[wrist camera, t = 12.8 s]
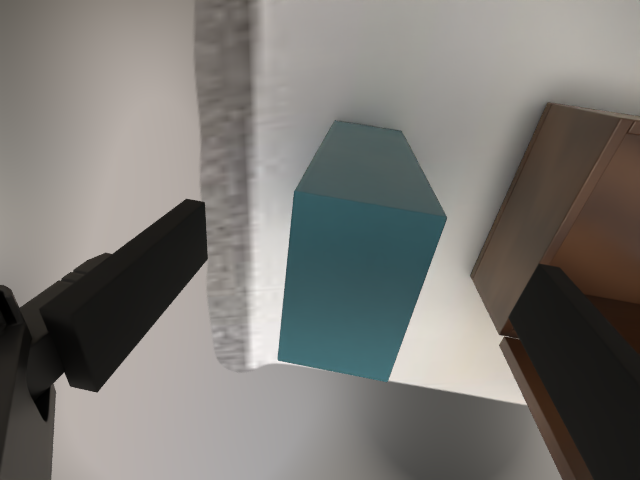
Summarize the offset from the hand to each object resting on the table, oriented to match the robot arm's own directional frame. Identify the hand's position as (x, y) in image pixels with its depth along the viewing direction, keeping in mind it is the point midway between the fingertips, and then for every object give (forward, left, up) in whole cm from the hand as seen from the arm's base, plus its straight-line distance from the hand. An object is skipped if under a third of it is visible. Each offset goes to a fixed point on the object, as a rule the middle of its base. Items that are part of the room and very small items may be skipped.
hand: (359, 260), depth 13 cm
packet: (0, 0, -12) cm, 12 cm away
